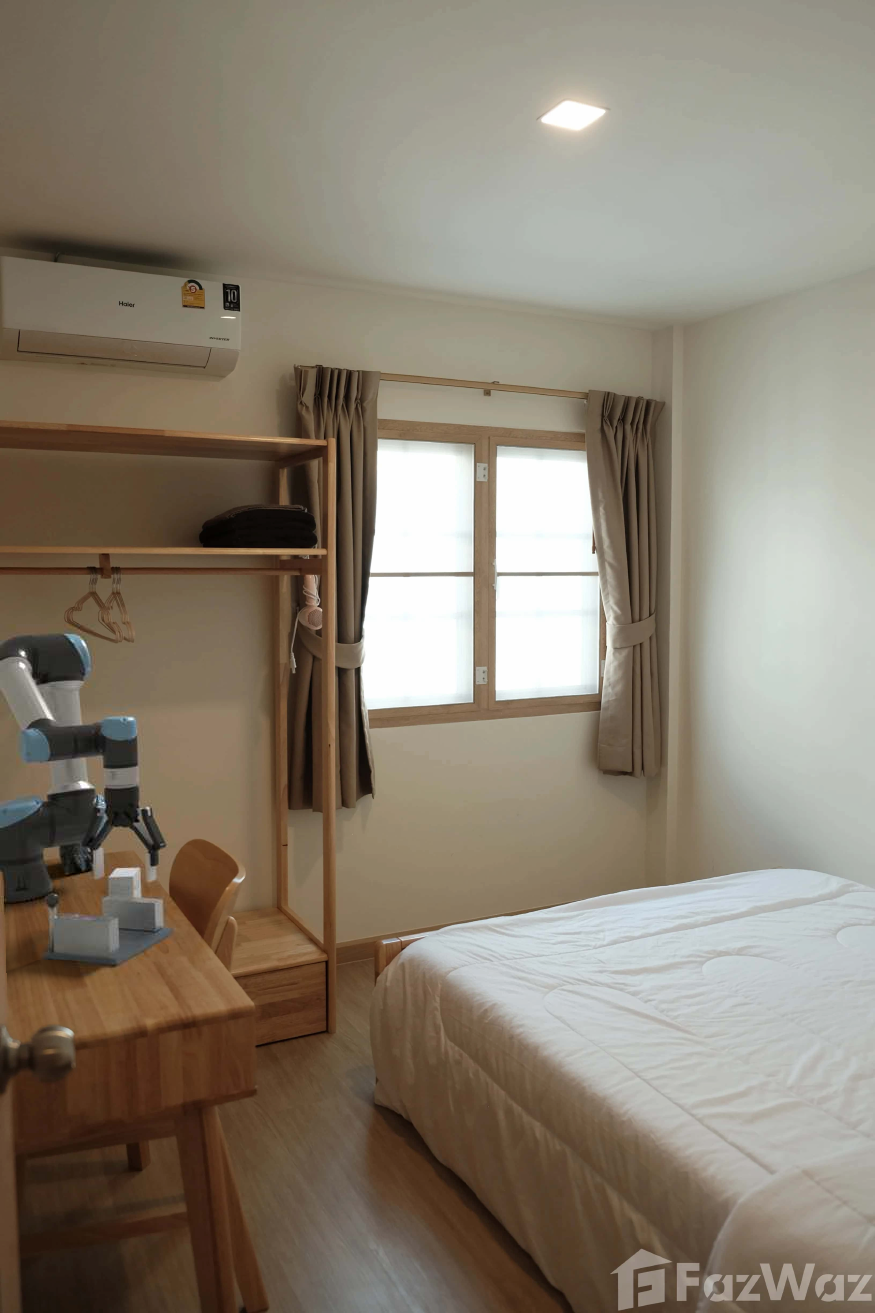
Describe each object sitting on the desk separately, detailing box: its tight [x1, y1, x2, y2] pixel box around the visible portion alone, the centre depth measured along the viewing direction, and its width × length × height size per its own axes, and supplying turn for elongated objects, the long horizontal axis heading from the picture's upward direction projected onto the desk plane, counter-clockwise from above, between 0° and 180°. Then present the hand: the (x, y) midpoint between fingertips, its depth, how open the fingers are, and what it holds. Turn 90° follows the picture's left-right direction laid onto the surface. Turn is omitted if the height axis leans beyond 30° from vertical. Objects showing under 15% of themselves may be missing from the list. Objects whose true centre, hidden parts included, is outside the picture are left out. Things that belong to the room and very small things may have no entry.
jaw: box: [101, 895, 164, 931], centre depth 213 cm, size 3×13×6 cm, turn 73°
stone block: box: [58, 843, 94, 875], centre depth 271 cm, size 18×9×20 cm, turn 18°
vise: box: [43, 892, 174, 966], centre depth 205 cm, size 20×18×13 cm
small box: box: [107, 867, 142, 898], centre depth 224 cm, size 8×6×10 cm
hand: (125, 879), depth 224 cm, fingers open, 13 cm apart
